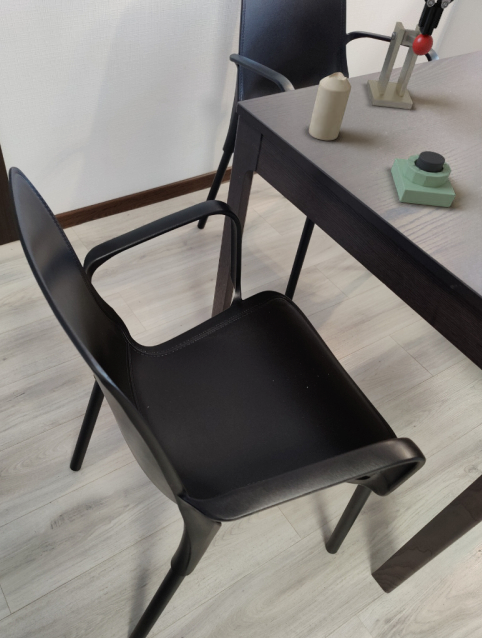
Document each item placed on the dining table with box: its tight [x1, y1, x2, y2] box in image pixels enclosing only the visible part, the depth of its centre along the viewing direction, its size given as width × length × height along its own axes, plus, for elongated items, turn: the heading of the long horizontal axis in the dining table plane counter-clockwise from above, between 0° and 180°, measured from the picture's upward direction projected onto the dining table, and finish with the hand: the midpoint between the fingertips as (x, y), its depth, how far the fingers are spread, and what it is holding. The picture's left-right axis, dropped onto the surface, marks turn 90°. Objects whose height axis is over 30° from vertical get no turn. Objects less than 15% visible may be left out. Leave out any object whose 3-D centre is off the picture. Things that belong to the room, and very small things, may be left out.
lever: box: [400, 28, 434, 57], centre depth 93 cm, size 14×3×3 cm, turn 174°
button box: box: [390, 153, 456, 208], centre depth 82 cm, size 8×10×4 cm
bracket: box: [366, 21, 421, 110], centre depth 101 cm, size 10×8×13 cm
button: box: [416, 150, 446, 173], centre depth 80 cm, size 4×4×2 cm
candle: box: [308, 71, 352, 141], centre depth 90 cm, size 6×6×10 cm
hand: (425, 32), depth 88 cm, fingers closed
